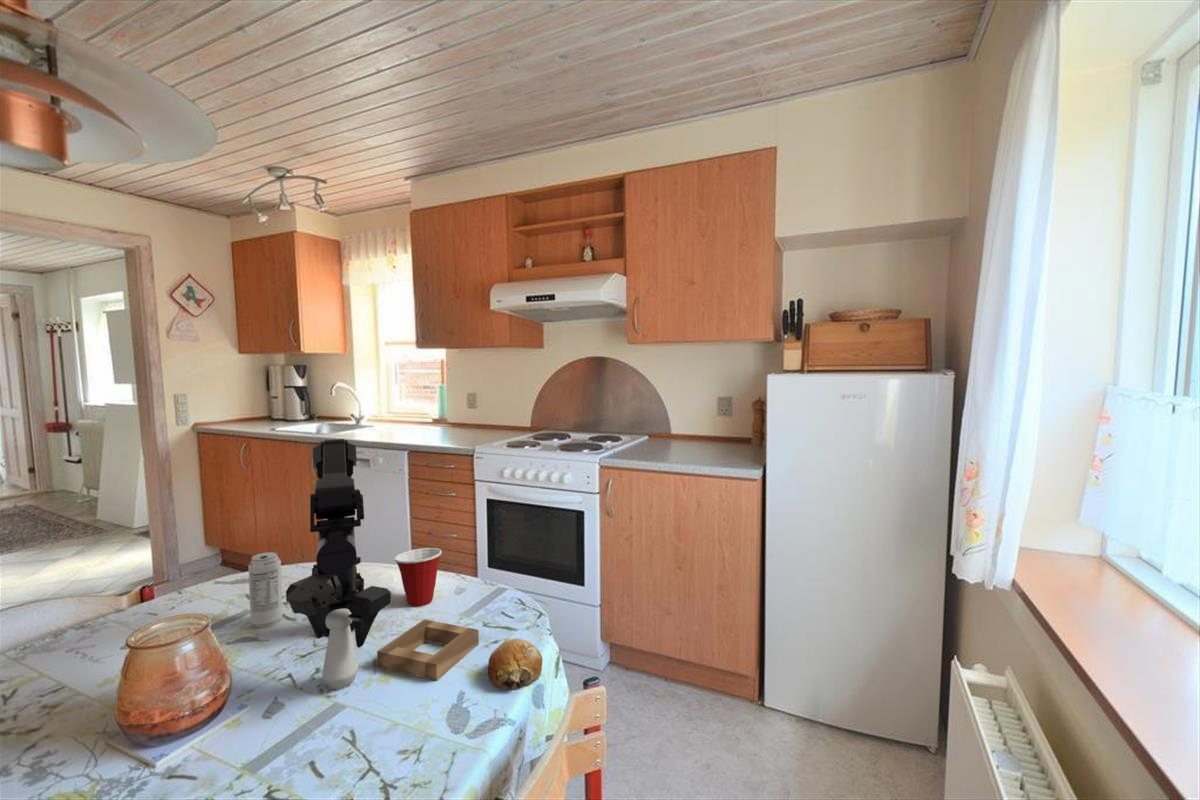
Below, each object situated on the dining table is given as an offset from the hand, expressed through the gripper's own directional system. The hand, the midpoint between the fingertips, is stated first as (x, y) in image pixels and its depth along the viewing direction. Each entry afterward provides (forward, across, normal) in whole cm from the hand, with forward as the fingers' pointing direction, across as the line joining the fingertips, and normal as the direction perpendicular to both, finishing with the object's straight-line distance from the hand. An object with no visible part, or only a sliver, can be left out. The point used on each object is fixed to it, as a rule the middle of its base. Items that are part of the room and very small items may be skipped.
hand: (339, 641), depth 92 cm
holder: (+8, +9, +13) cm, 18 cm away
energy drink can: (+8, -34, +12) cm, 37 cm away
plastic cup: (+8, -9, +32) cm, 34 cm away
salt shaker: (+8, 0, 0) cm, 8 cm away
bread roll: (+8, +28, +13) cm, 32 cm away
